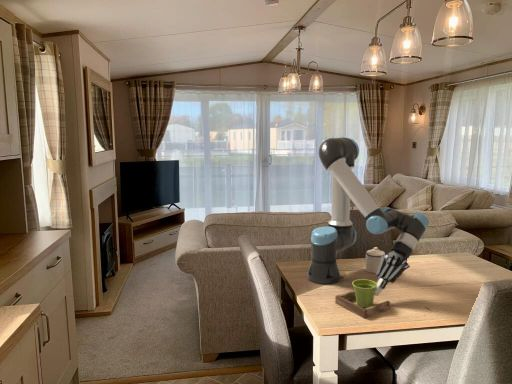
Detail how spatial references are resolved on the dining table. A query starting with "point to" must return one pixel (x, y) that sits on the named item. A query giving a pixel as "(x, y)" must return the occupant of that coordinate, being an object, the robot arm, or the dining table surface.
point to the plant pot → (364, 292)
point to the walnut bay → (344, 302)
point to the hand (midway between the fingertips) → (375, 293)
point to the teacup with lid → (373, 259)
